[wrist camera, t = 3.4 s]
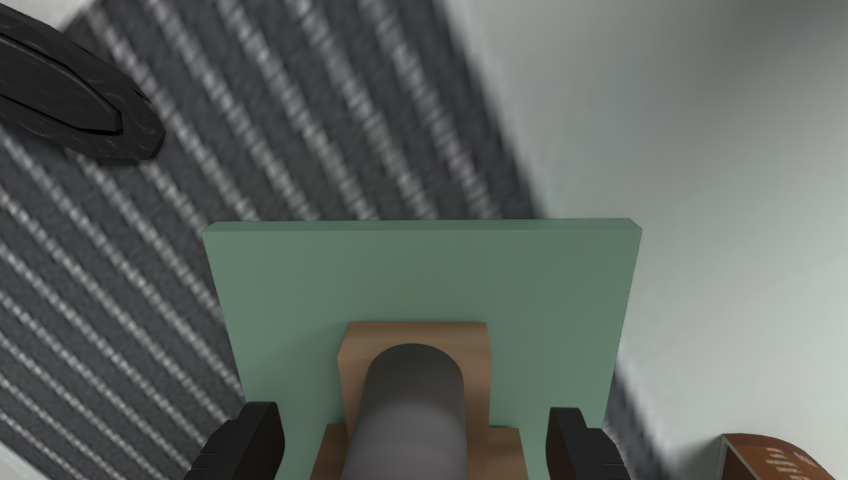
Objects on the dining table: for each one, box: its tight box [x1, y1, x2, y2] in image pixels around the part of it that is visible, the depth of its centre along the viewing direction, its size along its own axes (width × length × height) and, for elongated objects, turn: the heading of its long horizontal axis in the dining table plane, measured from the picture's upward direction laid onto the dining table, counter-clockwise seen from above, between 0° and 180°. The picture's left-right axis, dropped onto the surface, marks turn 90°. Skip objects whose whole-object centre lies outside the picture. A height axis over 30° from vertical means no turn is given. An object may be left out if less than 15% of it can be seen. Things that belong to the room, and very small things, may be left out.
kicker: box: [309, 322, 529, 480], centre depth 13 cm, size 7×8×7 cm
